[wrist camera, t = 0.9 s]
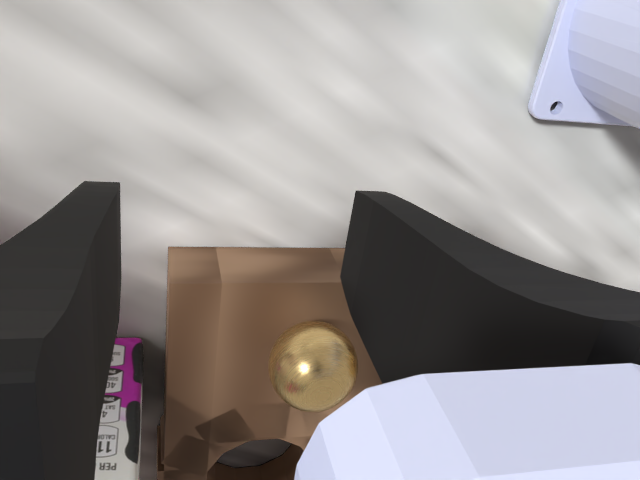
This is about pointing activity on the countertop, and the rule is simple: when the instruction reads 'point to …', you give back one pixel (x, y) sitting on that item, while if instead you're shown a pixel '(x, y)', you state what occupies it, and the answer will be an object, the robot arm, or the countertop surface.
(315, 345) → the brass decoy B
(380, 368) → the robot arm
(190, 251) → the brown square tray
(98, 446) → the candy bar box
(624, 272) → the countertop surface
